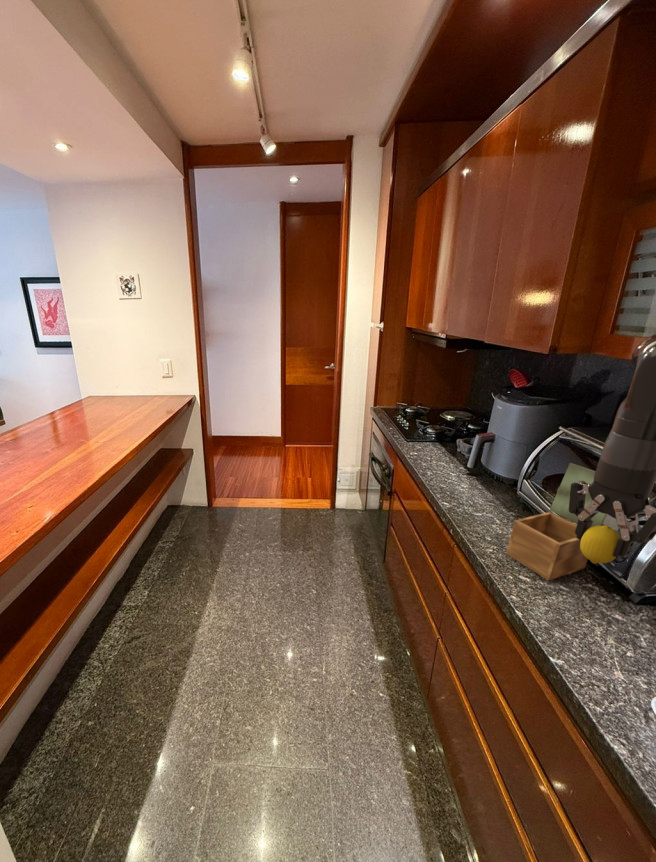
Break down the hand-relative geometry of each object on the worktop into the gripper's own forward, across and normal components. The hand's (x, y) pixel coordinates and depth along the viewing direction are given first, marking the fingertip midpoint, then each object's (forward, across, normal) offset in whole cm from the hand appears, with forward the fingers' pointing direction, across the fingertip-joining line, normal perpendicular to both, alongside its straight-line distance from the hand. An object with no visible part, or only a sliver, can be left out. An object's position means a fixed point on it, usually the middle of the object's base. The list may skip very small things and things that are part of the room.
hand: (599, 546), depth 70 cm
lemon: (+4, 0, 0) cm, 4 cm away
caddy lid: (+3, +18, -25) cm, 31 cm away
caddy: (+20, +18, -18) cm, 33 cm away
